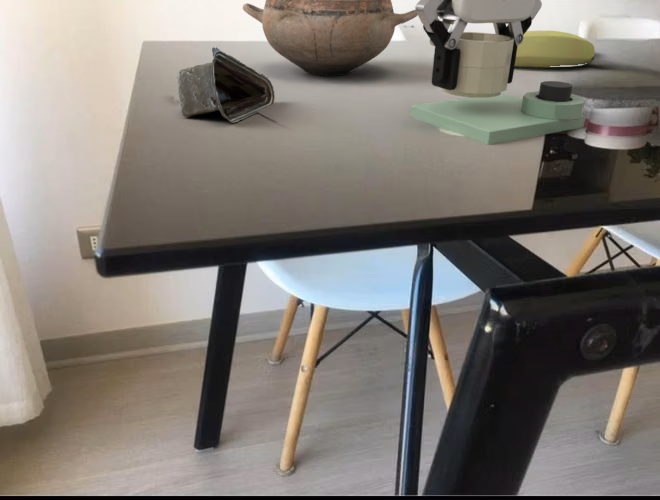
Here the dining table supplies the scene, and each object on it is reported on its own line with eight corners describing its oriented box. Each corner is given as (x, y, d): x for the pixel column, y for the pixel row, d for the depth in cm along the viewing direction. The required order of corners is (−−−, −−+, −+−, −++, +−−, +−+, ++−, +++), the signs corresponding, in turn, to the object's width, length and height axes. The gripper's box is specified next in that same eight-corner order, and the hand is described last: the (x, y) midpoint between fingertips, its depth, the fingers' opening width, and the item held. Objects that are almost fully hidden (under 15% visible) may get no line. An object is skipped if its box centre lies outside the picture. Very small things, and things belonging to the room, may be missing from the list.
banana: (592, 23, 91) (456, 31, 100) (588, 62, 92) (454, 67, 101) (596, 38, 104) (475, 44, 112) (593, 73, 105) (473, 76, 113)
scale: (504, 104, 76) (507, 78, 75) (591, 128, 67) (597, 100, 66) (409, 117, 69) (412, 90, 68) (492, 147, 60) (496, 116, 59)
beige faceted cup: (472, 82, 72) (478, 30, 69) (520, 95, 66) (529, 39, 64) (423, 87, 68) (428, 33, 66) (469, 101, 63) (476, 43, 60)
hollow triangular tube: (228, 98, 77) (164, 33, 67) (277, 87, 74) (219, 17, 64) (215, 166, 73) (146, 108, 64) (267, 157, 70) (203, 95, 61)
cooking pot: (415, 64, 99) (422, -20, 94) (410, 89, 83) (417, -12, 77) (261, 56, 103) (259, -25, 97) (226, 79, 86) (221, -19, 81)
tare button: (551, 96, 69) (554, 80, 68) (575, 102, 66) (579, 85, 65) (531, 99, 67) (534, 82, 66) (555, 105, 65) (558, 88, 64)
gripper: (453, -115, 52) (432, 99, 60) (589, -102, 61) (555, 84, 68) (398, -111, 58) (385, 84, 66) (529, -100, 66) (504, 72, 74)
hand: (472, 83), depth 67 cm, fingers closed on beige faceted cup, 7 cm apart
